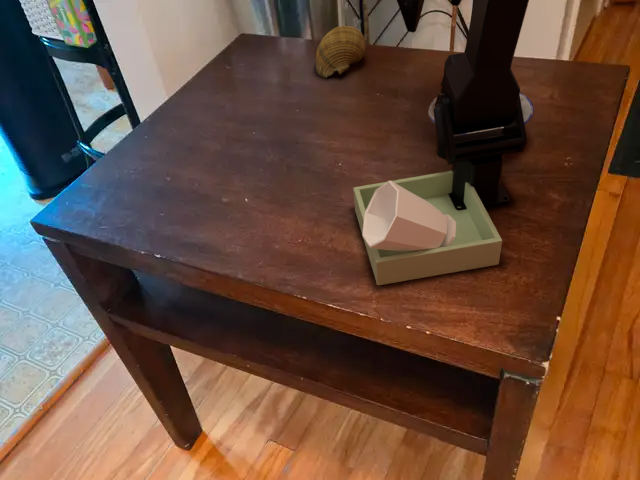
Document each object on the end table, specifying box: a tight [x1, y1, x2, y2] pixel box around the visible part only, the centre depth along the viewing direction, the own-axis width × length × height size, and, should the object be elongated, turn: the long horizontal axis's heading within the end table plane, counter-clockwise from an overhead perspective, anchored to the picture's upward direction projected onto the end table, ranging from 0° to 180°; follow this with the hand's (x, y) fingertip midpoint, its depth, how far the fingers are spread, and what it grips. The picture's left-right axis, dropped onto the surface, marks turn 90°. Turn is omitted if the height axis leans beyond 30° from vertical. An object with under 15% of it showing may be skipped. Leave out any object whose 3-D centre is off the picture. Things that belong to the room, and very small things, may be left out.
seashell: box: [315, 25, 367, 79], centre depth 97 cm, size 10×7×8 cm
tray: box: [353, 170, 503, 286], centre depth 67 cm, size 13×13×3 cm
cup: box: [361, 180, 456, 253], centre depth 63 cm, size 7×10×8 cm
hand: (433, 18), depth 76 cm, fingers open, 9 cm apart
